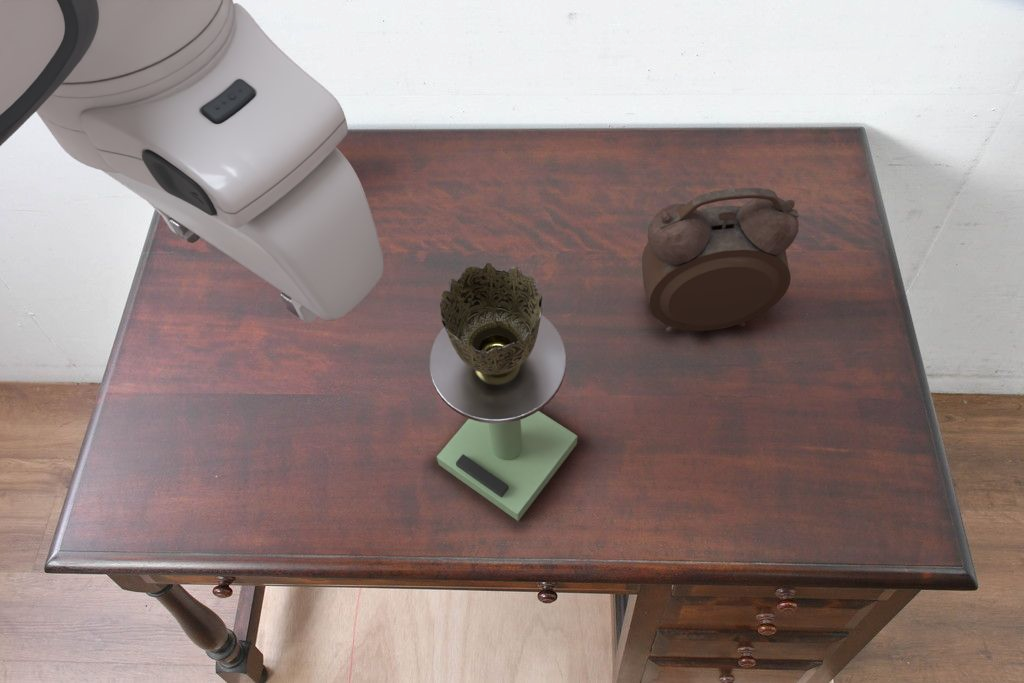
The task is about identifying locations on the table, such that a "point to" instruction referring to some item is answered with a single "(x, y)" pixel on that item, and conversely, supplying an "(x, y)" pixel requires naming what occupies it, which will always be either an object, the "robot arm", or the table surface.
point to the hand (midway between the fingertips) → (250, 268)
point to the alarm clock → (718, 259)
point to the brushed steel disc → (500, 380)
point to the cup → (492, 317)
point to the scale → (508, 459)
